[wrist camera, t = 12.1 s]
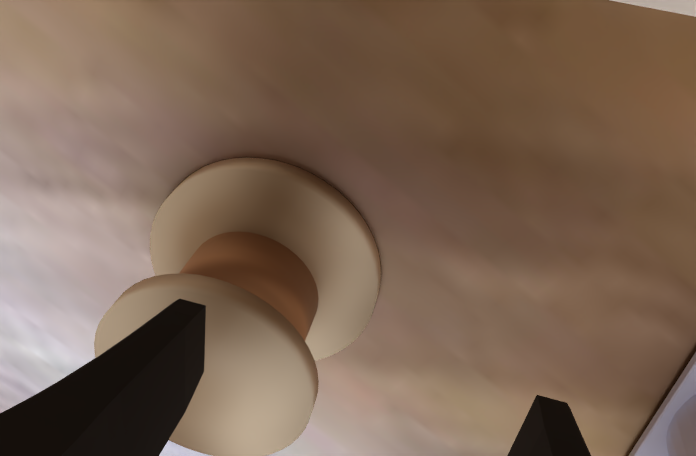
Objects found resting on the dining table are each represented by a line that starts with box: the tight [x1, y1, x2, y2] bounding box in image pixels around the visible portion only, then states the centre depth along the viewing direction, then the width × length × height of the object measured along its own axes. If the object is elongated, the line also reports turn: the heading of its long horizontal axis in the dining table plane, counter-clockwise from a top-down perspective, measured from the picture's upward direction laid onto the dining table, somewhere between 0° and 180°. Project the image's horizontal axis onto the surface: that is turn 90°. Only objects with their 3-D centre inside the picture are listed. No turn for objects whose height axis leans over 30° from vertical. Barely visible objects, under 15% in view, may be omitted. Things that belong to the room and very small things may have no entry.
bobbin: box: [94, 157, 381, 456], centre depth 21 cm, size 9×9×6 cm
